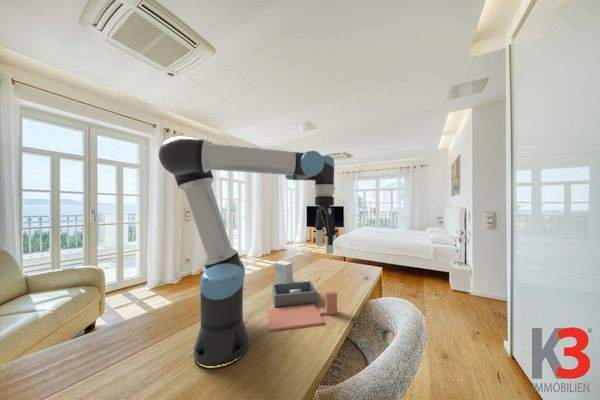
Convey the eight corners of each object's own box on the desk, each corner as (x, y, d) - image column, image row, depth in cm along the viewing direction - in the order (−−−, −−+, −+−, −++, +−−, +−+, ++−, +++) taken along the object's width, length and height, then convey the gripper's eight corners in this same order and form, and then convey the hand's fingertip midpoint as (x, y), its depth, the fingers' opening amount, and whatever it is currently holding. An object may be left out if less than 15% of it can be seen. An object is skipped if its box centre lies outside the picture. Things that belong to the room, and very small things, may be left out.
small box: (293, 282, 112) (292, 262, 112) (286, 285, 107) (286, 265, 107) (281, 279, 116) (281, 260, 116) (274, 282, 111) (274, 262, 111)
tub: (274, 308, 85) (274, 295, 85) (272, 295, 96) (272, 284, 96) (317, 303, 88) (317, 291, 88) (310, 291, 100) (310, 281, 100)
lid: (269, 331, 70) (269, 307, 70) (267, 311, 83) (267, 290, 83) (342, 321, 75) (342, 299, 75) (330, 304, 88) (330, 285, 88)
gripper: (345, 195, 72) (345, 257, 71) (324, 196, 96) (324, 242, 96) (324, 194, 70) (324, 258, 70) (308, 196, 95) (308, 243, 95)
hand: (324, 249), depth 83 cm, fingers open, 13 cm apart
